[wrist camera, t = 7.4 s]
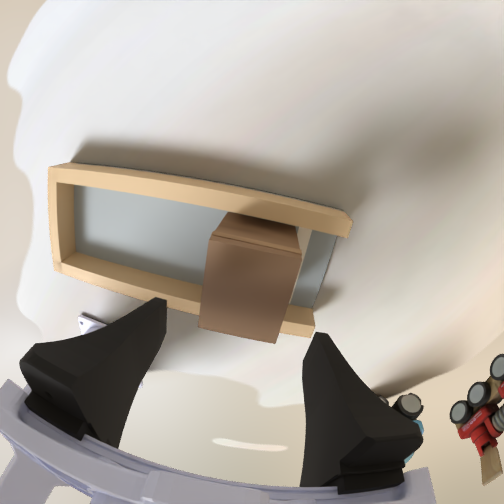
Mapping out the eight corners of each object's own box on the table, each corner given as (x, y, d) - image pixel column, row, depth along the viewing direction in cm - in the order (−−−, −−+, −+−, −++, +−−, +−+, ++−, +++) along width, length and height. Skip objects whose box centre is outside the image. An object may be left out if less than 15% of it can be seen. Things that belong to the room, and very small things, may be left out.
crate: (276, 295, 22) (276, 344, 17) (215, 282, 22) (196, 327, 17) (295, 225, 20) (303, 259, 14) (227, 210, 20) (208, 238, 14)
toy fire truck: (521, 349, 24) (566, 418, 8) (467, 412, 30) (494, 482, 14) (497, 341, 24) (552, 429, 7) (433, 413, 30) (460, 500, 13)
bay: (307, 316, 23) (310, 338, 21) (71, 258, 23) (54, 270, 21) (342, 210, 20) (352, 221, 17) (69, 162, 20) (48, 167, 17)
